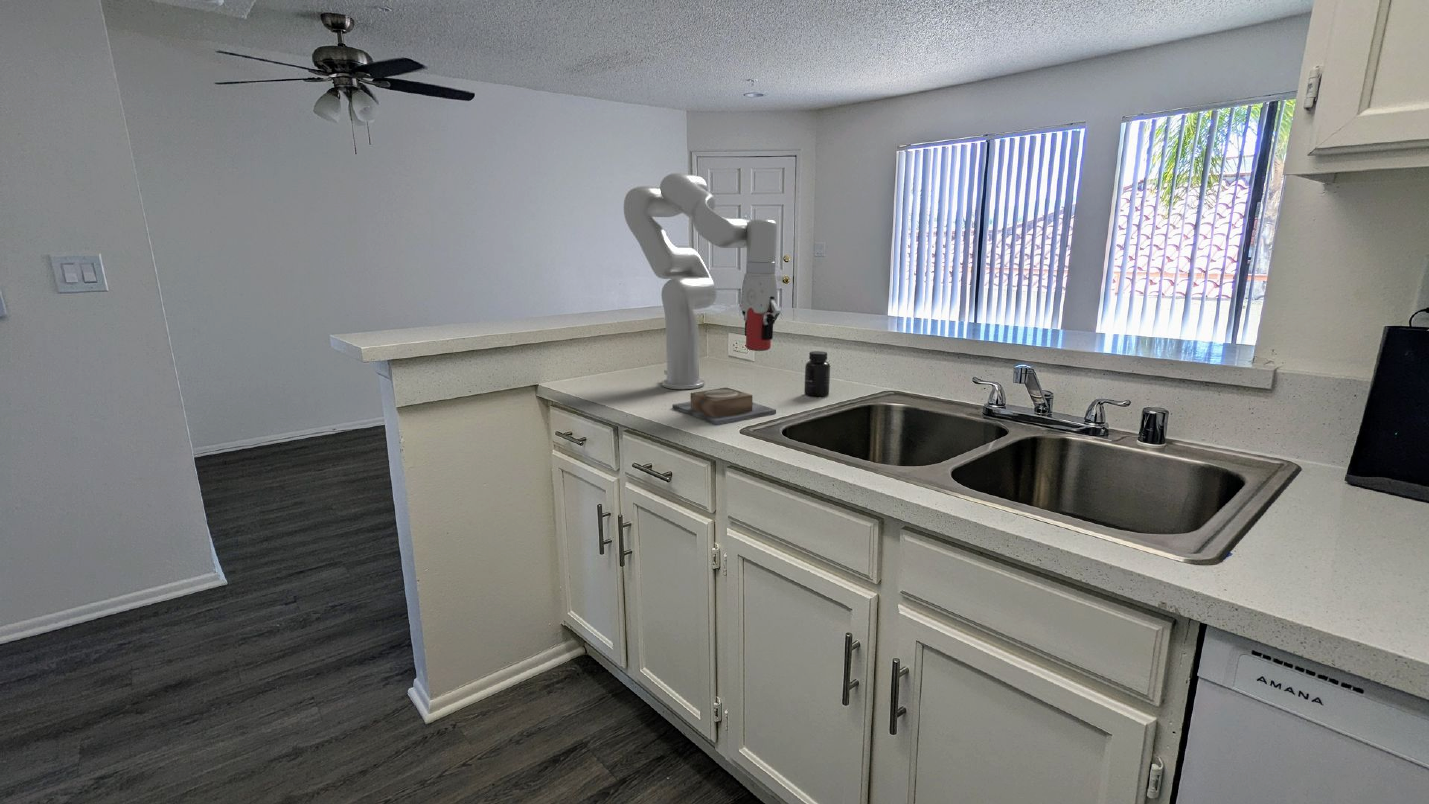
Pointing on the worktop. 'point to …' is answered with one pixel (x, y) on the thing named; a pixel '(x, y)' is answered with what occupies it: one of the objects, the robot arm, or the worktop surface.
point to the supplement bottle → (817, 375)
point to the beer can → (755, 332)
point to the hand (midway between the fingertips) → (758, 337)
